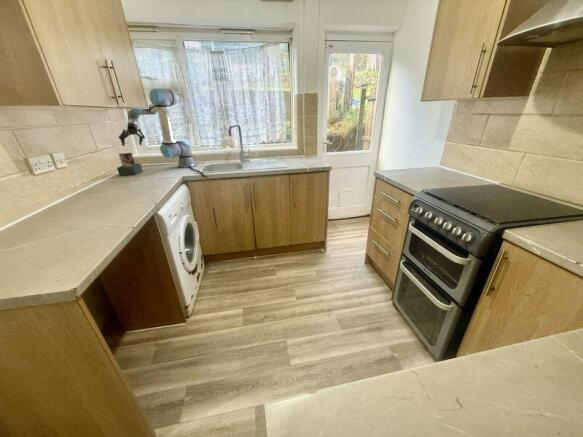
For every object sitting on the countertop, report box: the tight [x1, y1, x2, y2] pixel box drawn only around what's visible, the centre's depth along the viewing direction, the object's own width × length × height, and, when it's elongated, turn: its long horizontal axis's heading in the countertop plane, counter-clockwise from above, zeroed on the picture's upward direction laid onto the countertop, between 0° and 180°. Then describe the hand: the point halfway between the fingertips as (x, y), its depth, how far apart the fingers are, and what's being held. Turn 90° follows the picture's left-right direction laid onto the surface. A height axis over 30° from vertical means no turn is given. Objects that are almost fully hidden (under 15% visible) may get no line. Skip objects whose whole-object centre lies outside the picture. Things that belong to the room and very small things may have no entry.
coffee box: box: [118, 152, 136, 167], centre depth 207 cm, size 9×6×16 cm
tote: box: [116, 163, 143, 177], centre depth 209 cm, size 15×13×7 cm
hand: (131, 144), depth 213 cm, fingers open, 13 cm apart
